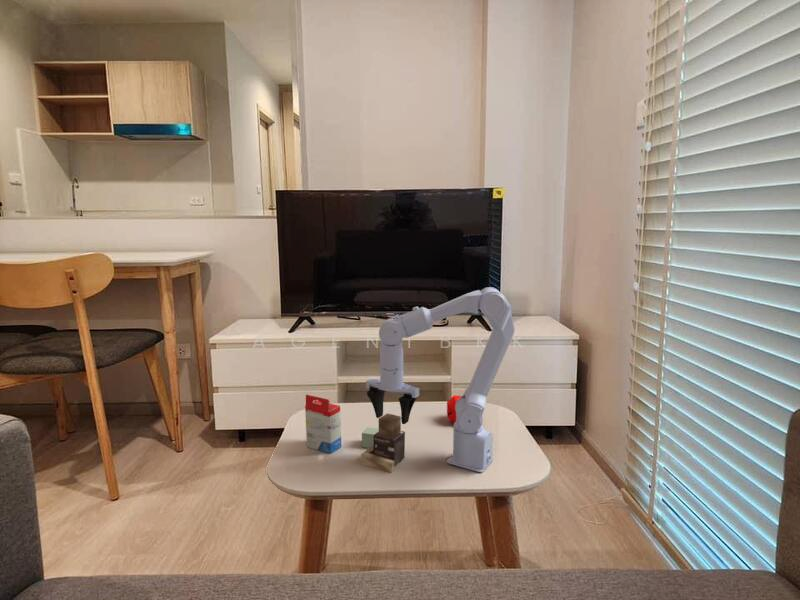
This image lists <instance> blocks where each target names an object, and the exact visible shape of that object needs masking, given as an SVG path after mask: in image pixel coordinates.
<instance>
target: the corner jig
mask: <svg viewBox="0 0 800 600" xmlns="http://www.w3.org/2000/svg"><path fill="white" fill-rule="evenodd" d="M373 447H374V446H372V447H371V448H368V449H367V450H365V451H363V452H362V453H361V455H360V456H361V459H360V461H361V464H363V465H366V466H369V467H372V468H375V469H378V470H382V471H385V472H387V473H392V474H393V472H395V467H394V461H393V460H389V459H386V458H383V457H379V456H376V455H373Z"/></svg>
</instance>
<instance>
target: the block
mask: <svg viewBox="0 0 800 600" xmlns="http://www.w3.org/2000/svg"><path fill="white" fill-rule="evenodd" d="M377 432H379V427H378V428H377V427H370V426H369V427H368V426H367V427H366V428H364V429H363V431H362V432H361V447H362V448H368V449H369V448H371V447H372V446H374V445H373V444H374V442H373V440H374V435H375V434H376V433H377Z"/></svg>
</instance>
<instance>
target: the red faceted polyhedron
mask: <svg viewBox="0 0 800 600" xmlns="http://www.w3.org/2000/svg"><path fill="white" fill-rule="evenodd" d="M462 396H463V395H453V396H451V398H450V399H449V400H448V401H446V415H447V419H448V420H449V421H450V422H451V423H452V424H454V423H455V422H456V411H455V404H456V402H457V400H458V399H459V398H461V397H462Z"/></svg>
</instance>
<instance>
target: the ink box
mask: <svg viewBox="0 0 800 600" xmlns="http://www.w3.org/2000/svg"><path fill="white" fill-rule="evenodd" d="M304 409H305V410H304V411H305V432H306V433H305V434H306V435H305V437H306V439H305V440H306V447H307V448H310V449H313V450H316V451H321V452H324V453H327V454H332V453H334V452H335V451H337V450H338V449H340V448H341V447H342V424H341V423H342V422H341V419H342V418H341V405H339V404H334V403H330V399H328V398H323V397H318V396H314V395H310V394H305V405H304Z"/></svg>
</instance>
